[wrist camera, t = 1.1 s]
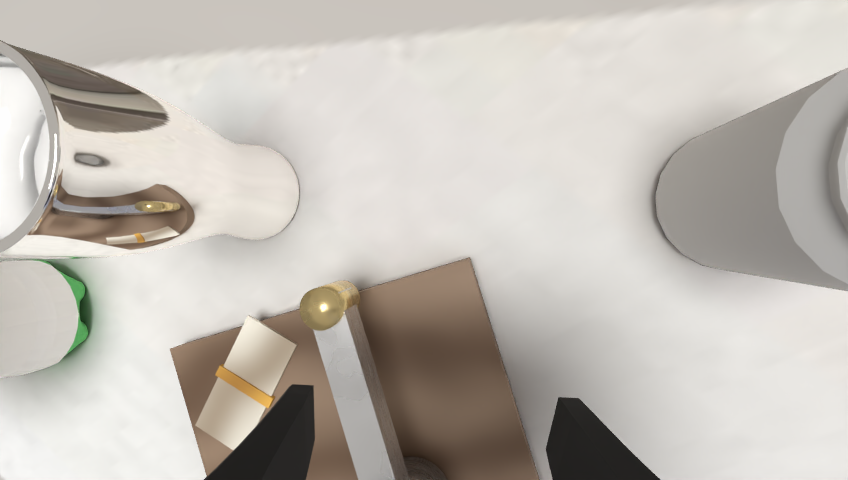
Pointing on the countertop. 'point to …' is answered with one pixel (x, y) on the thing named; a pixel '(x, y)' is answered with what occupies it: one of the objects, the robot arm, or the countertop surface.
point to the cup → (37, 316)
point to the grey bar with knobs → (358, 386)
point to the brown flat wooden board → (398, 373)
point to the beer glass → (121, 168)
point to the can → (767, 190)
